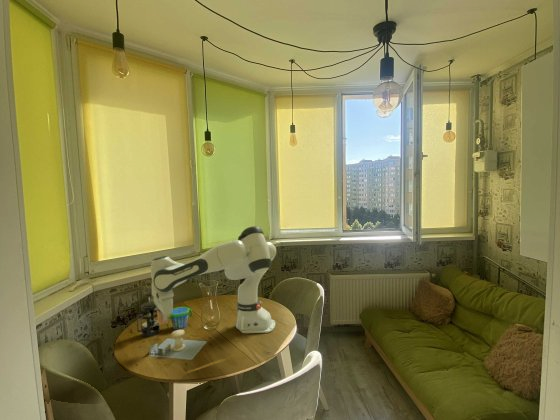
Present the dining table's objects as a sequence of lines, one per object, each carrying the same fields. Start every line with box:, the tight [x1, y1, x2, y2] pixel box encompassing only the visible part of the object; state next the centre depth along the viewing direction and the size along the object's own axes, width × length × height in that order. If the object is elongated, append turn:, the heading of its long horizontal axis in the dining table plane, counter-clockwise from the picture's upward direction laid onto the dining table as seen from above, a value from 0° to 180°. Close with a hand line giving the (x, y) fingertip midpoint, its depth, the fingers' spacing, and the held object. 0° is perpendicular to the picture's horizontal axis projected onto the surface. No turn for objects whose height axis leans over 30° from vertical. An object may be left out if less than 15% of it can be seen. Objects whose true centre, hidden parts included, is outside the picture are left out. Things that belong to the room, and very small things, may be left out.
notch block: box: [148, 342, 171, 356], centre depth 134 cm, size 8×5×3 cm, turn 80°
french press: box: [136, 292, 161, 338], centre depth 153 cm, size 12×9×23 cm
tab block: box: [156, 308, 169, 326], centre depth 137 cm, size 4×4×7 cm
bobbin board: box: [147, 329, 208, 361], centre depth 137 cm, size 22×16×9 cm
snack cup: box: [165, 306, 194, 331], centre depth 161 cm, size 16×10×10 cm
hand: (163, 318), depth 137 cm, fingers closed on tab block, 4 cm apart
